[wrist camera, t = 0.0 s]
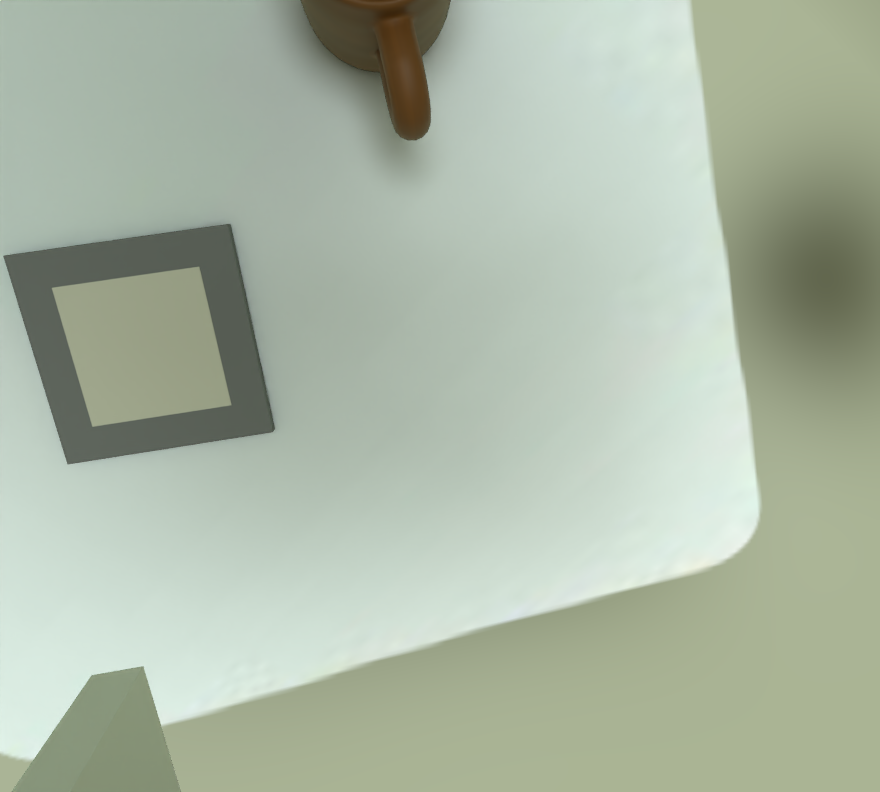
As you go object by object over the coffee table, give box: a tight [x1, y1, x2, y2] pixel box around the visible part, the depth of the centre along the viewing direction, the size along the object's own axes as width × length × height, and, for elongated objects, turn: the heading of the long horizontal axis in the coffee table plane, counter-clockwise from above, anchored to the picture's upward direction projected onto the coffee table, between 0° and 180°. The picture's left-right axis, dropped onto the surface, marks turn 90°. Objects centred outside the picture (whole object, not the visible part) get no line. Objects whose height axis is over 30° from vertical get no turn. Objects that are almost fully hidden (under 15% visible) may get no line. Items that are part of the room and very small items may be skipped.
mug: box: [301, 0, 451, 140], centre depth 28 cm, size 12×8×9 cm, turn 12°
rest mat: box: [4, 224, 275, 464], centre depth 35 cm, size 12×12×1 cm
